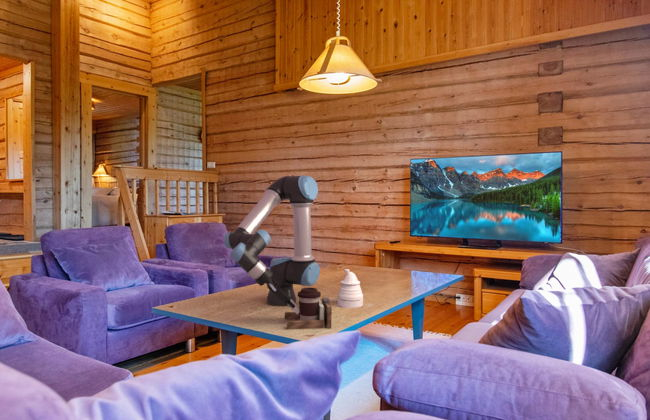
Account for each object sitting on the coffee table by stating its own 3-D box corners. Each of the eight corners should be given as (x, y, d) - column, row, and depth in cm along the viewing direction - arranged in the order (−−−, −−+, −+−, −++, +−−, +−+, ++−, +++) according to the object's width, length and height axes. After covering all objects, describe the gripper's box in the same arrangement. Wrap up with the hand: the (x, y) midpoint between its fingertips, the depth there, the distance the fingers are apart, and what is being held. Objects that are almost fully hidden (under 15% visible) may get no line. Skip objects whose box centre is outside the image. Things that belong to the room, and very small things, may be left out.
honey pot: (340, 308, 227) (340, 271, 226) (335, 302, 239) (336, 267, 239) (365, 307, 229) (366, 271, 228) (359, 301, 242) (360, 267, 241)
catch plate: (320, 325, 194) (320, 306, 194) (316, 318, 206) (316, 300, 206) (323, 325, 194) (324, 306, 194) (319, 318, 206) (320, 300, 206)
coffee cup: (322, 321, 203) (322, 287, 203) (317, 327, 193) (318, 291, 193) (300, 319, 205) (301, 286, 205) (294, 325, 195) (295, 290, 195)
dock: (287, 329, 190) (287, 304, 189) (284, 318, 206) (284, 295, 206) (332, 328, 192) (332, 303, 192) (326, 317, 209) (326, 295, 209)
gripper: (254, 277, 202) (292, 314, 205) (254, 282, 189) (294, 322, 192) (266, 265, 202) (304, 302, 205) (267, 269, 190) (307, 309, 192)
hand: (299, 311), depth 199 cm, fingers closed
